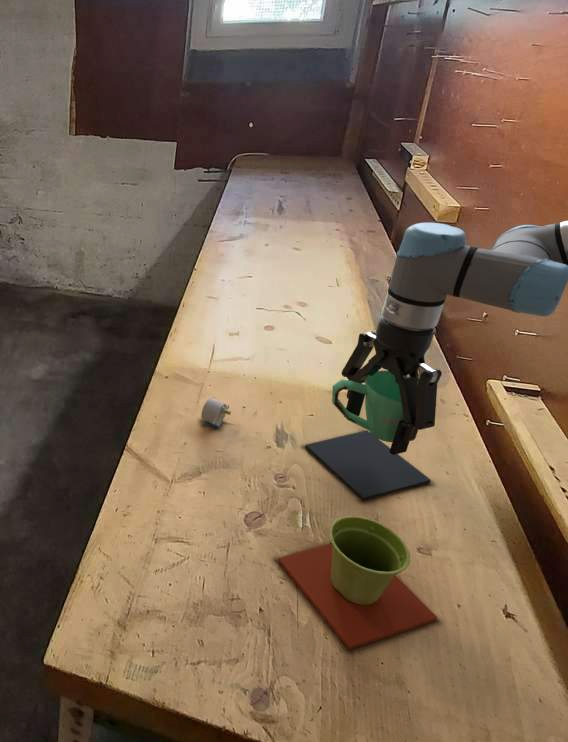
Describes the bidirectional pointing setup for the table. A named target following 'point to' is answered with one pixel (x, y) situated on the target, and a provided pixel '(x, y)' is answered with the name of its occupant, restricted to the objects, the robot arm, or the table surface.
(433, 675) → the table surface
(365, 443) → the charcoal mat
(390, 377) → the mug
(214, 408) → the electric motor
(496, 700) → the table surface
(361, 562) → the plant pot
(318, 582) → the terracotta mat
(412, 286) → the robot arm
